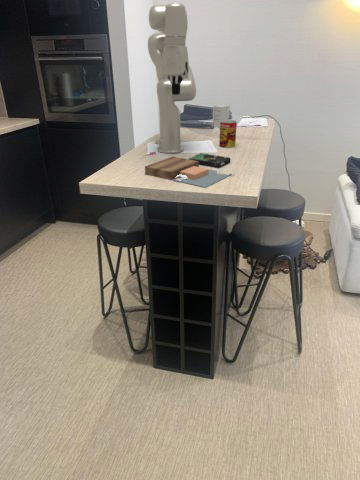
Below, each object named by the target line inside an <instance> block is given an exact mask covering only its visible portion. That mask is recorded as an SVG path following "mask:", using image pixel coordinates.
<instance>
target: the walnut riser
mask: <svg viewBox="0 0 360 480" xmlns="http://www.w3.org/2000/svg"><path fill="white" fill-rule="evenodd" d="M189 159H190V158H189ZM189 159H187V158H183V157H178V156H172V157H170V156H169V158H165V159H162V160H160V161H156V162H155V163H151V164H149V165H145V166H144V174H145V175H149V176H152V177H156V178H161V179H167V180H171V181H173V180H175V179H176V178H175V177H176V176H177V175H179V174H180V171H182V170H185V169H187V168H190V167H193V166H196V167H200V165H199V161H194V160H189Z"/></svg>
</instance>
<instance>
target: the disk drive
mask: <svg viewBox="0 0 360 480" xmlns="http://www.w3.org/2000/svg"><path fill="white" fill-rule="evenodd" d="M189 160H194V161H199V166H203V167H209V168H215V169H220V168H221V169H222V167H224V166H226V165H229V164H231V157H229V156H228V157H227V156H220V155H215V154H208V153H202V152H201V153H199V154H195V155H194V156H192V157H189Z"/></svg>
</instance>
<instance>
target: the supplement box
mask: <svg viewBox="0 0 360 480" xmlns="http://www.w3.org/2000/svg"><path fill="white" fill-rule="evenodd" d="M222 120H230V105H226V104H217V105H213V107H212V123H213V122H214V126H215V127H214V128H216V127H218V128H217V129H220V121H222Z"/></svg>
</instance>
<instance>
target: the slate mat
mask: <svg viewBox="0 0 360 480" xmlns="http://www.w3.org/2000/svg"><path fill="white" fill-rule="evenodd" d="M217 171H218V170H213V169H209V172H208V175H205V176H203V177H201V178H198V179H196V180H192V179H187V180H183V181H178V180H176V179H177V178H175V179H173V180H172V181H173V182H176V181H178V182H177V183H182V184H185V183H186V185H191V186H194V185H195V187H199V186H200V188H203V187H205V188H204V189H206V187H207V188H208V186H209V187H210V185H211V186H213V185H215V184H216V183H219V182H220V181H222V180H224V179H226V178H228V177H230V176H231V175H218V174H217Z"/></svg>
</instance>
